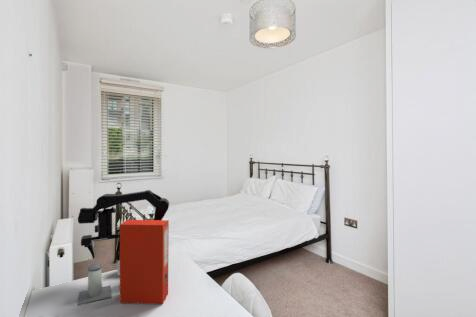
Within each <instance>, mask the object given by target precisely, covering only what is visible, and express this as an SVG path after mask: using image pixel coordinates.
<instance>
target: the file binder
mask: <svg viewBox="0 0 476 317" xmlns="http://www.w3.org/2000/svg"><path fill="white" fill-rule="evenodd" d="M169 230H170V229H169V220H164V219H162V220H154V219H126V220H125V221H124V222H122V223H120V224H119V231H120V248H119V260H120V276H119V303H120V304H146V305H147V304H150V305H153V304H154V305H157V304H158V305H163V304H164V303H165V301H166V298H167V296H168V295H169Z"/></svg>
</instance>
